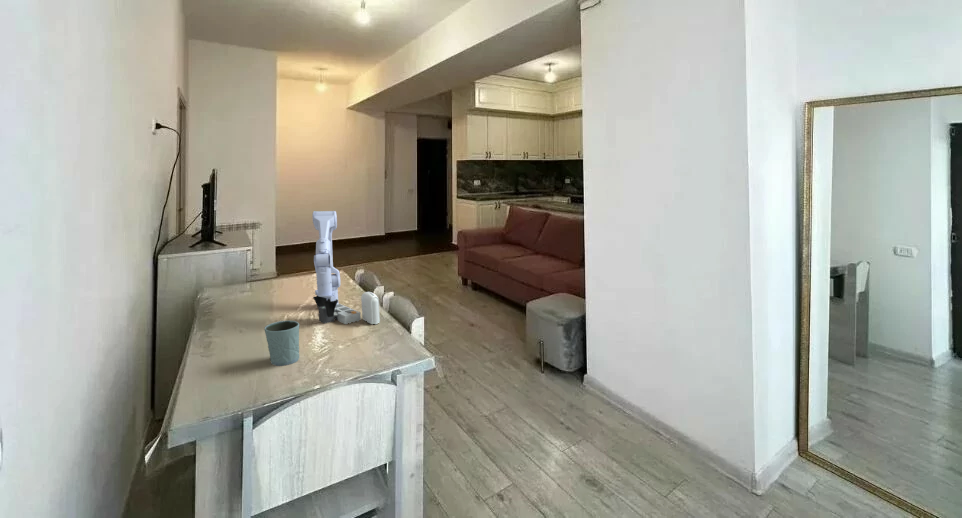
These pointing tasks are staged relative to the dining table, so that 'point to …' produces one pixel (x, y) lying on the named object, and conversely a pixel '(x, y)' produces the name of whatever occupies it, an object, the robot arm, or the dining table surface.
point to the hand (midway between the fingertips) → (326, 314)
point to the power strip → (346, 314)
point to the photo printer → (370, 308)
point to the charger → (325, 315)
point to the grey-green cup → (283, 342)
